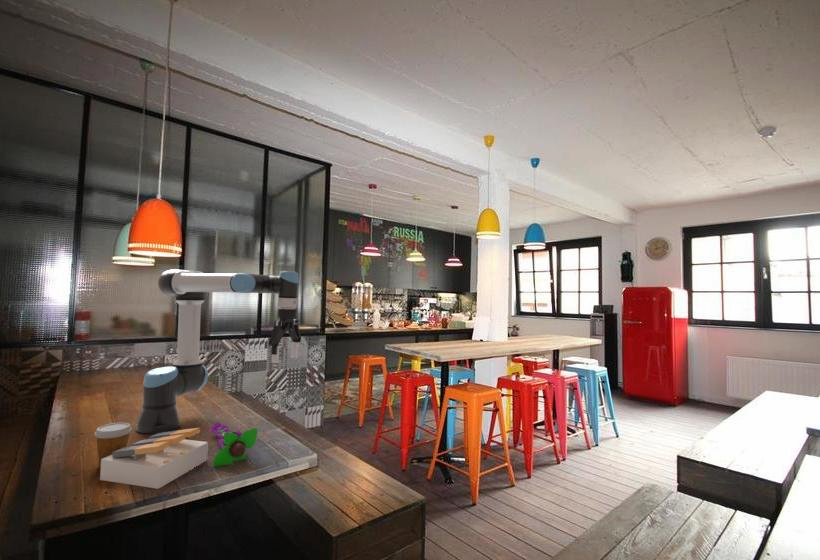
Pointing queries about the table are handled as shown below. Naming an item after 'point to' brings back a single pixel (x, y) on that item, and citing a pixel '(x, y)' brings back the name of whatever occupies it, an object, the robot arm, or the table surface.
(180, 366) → the robot arm
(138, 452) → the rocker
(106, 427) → the disposable coffee cup
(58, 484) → the table surface
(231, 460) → the potted plant
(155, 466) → the switch box
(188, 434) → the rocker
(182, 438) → the rocker mid
